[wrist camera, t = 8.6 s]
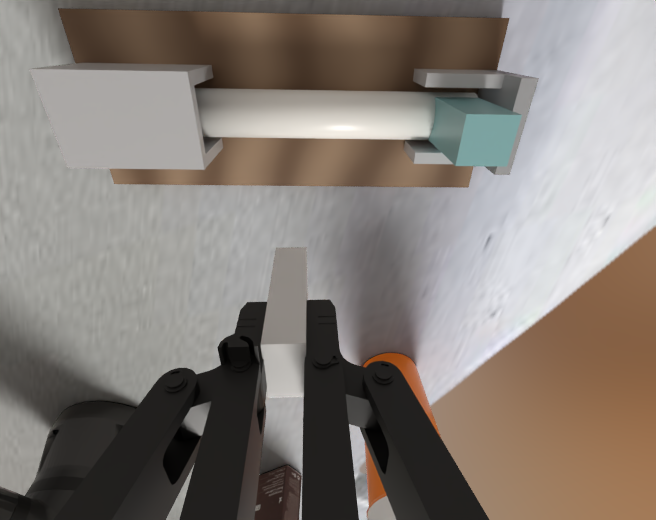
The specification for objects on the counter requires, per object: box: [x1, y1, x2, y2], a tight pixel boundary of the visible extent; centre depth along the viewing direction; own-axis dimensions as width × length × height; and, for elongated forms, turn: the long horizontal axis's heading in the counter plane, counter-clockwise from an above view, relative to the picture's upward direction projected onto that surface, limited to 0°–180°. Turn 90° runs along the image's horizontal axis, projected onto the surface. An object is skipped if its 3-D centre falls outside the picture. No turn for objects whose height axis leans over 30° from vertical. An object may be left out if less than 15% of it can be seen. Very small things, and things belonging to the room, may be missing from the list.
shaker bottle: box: [363, 353, 441, 520], centre depth 36 cm, size 9×9×20 cm
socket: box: [404, 69, 539, 175], centre depth 25 cm, size 6×6×6 cm
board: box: [58, 8, 509, 187], centre depth 27 cm, size 30×12×1 cm, turn 89°
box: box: [254, 465, 302, 520], centre depth 53 cm, size 6×4×12 cm
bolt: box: [195, 88, 522, 167], centre depth 23 cm, size 20×3×9 cm, turn 89°
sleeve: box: [29, 63, 223, 170], centre depth 24 cm, size 9×6×5 cm, turn 89°
